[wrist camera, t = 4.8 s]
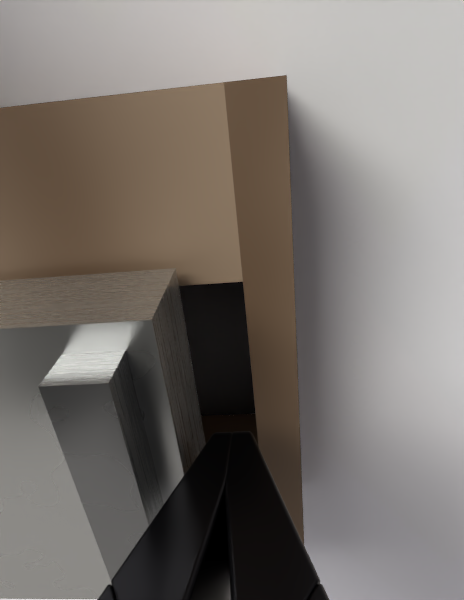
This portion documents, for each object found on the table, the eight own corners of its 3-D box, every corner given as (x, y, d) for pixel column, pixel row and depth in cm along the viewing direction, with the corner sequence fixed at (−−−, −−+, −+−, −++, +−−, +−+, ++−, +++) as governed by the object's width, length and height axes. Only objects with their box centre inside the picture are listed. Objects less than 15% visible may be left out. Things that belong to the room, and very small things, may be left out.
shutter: (175, 268, 8) (137, 349, 5) (218, 516, 11) (206, 642, 8) (-161, 292, 9) (-334, 374, 6) (-33, 519, 12) (-113, 637, 9)
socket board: (278, 79, 9) (286, 75, 7) (296, 488, 15) (304, 574, 12) (-344, 150, 11) (-542, 169, 8) (-113, 496, 17) (-185, 575, 14)
